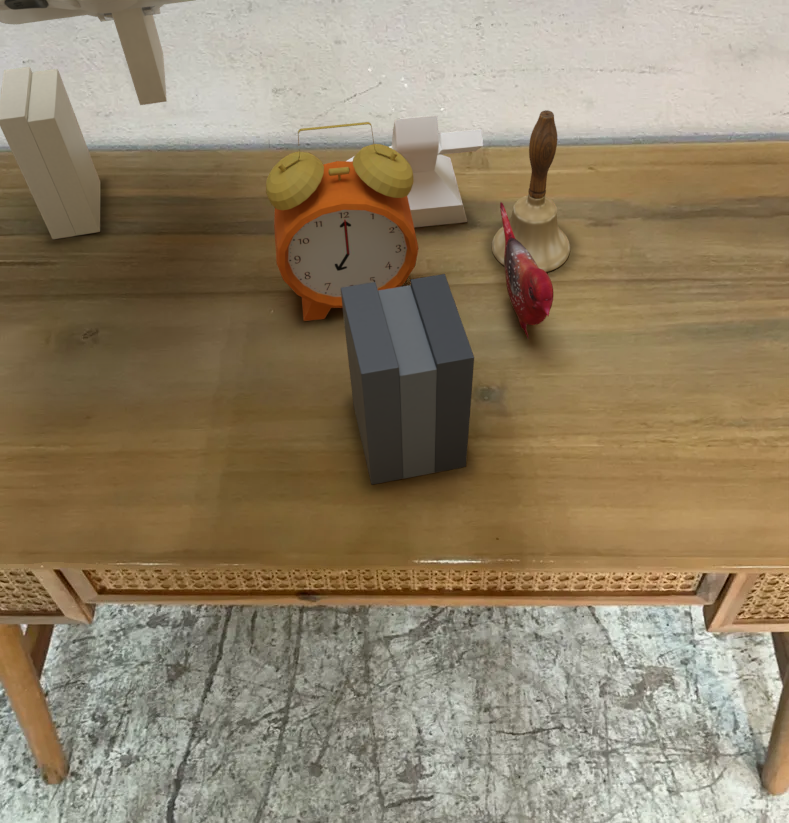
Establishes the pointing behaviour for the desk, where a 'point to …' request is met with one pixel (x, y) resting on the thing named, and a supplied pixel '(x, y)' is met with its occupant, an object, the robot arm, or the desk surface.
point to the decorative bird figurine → (525, 280)
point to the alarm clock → (342, 223)
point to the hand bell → (538, 205)
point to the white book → (142, 54)
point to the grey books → (409, 377)
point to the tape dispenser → (433, 168)
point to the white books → (50, 150)
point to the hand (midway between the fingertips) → (129, 9)
